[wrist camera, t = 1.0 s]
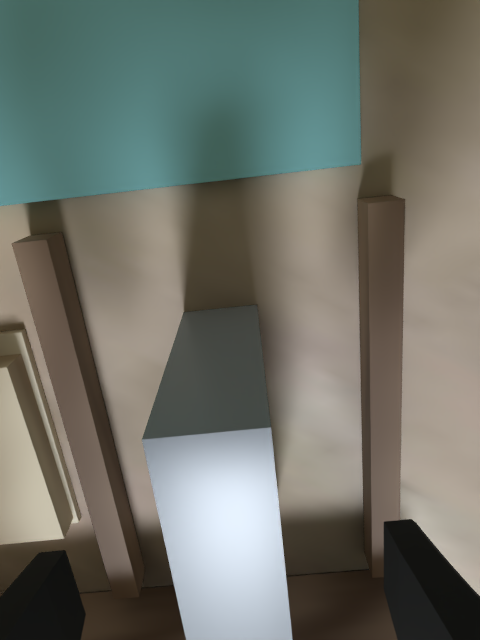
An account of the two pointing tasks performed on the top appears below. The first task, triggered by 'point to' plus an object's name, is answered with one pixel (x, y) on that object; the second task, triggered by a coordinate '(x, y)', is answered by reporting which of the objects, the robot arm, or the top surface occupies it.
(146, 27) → the mat
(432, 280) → the top surface
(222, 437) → the block
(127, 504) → the rack
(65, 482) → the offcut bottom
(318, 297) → the top surface
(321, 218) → the top surface
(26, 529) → the offcut top
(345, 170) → the top surface
